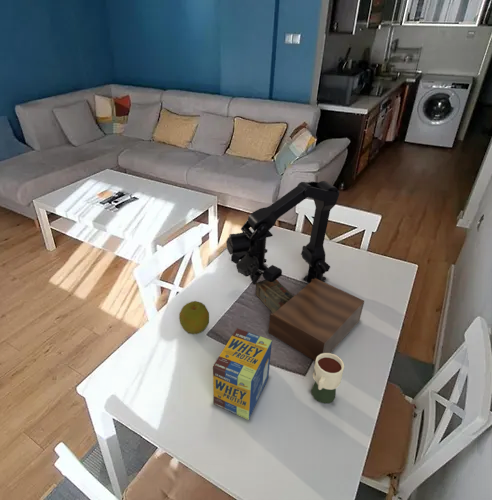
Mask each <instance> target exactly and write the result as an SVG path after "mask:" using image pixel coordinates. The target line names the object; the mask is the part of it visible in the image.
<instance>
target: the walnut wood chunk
mask: <svg viewBox="0 0 492 500" xmlns="http://www.w3.org/2000/svg"><path fill="white" fill-rule="evenodd" d="M293 296H294V297H292V298H291V299H290V300H289V301H288V302H287V303H285V304H284V305H283V306H282V307H281V308H279V309H278V310H277V311H276V312H275V313H272V312H271V313H270V314H269V324H268V334H270V335H271V336H273V337H275V338H276V339H278V340H280V341H281V342H283V343H285V344H286V345H288V346H290V347H291V348H293V349H294V350H295V351H297V352H299V353H301V354H303V355H304V356H306V357H308V358H309V359H311V360H313V361H314V362H315V361H316V358H317V356H318V355H320V354H323V353H331V354H332V352H333V351H334V350H335V349H336V348H337V347H338V346H339V344H341V342H342V341H343V340H344V339H345V338H346V337H347V336H348V335H349V333H350V332H351V331H352V330H353V329H354V328H355V327H356V325H357V324H359V322H360V321H361V316H362V312H363V308H364V304H365V300H364V299H361V298H359V297H357V296H355V295H353V294H351V293H348V292H346V291H344V290H342V289H340V288H338V287H335V286H333V285H331V284H329V283H328V282H327V283H326V282H325V281H324V282H323V281H320V280H318V279H316V278H315V279H312V280H311V282H310V283H309V282H308V284H306V285H305V286H304V287H303V288H301V290H300V291H298V292H297V293H296V294H295V295H293Z"/></svg>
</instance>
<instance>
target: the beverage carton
mask: <svg viewBox="0 0 492 500" xmlns="http://www.w3.org/2000/svg"><path fill="white" fill-rule="evenodd" d="M255 295H256V297H258V298H259V300H260V301H261V302H262V303H263V304H264V305H265V306H266V307H267V309H269V310H270V312H271V313H275V312H276V311H277V310H278V309H279V308H281V307H282V306H283V305H284V304H285V303H287V302H288V301H289V300H290V299H291V298H292V297H294V296H295V295H293V294H292V293H291V292H290V291H289V289H287V288H286V287H285V286H284V285H283V284H282V283H281V282H280V281H279V280H278V278H277V279H276V280H275V281H273V282H269V281H268V280H266V279H262V280H260V281H259V280H258V281H257V282H256V284H255Z"/></svg>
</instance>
